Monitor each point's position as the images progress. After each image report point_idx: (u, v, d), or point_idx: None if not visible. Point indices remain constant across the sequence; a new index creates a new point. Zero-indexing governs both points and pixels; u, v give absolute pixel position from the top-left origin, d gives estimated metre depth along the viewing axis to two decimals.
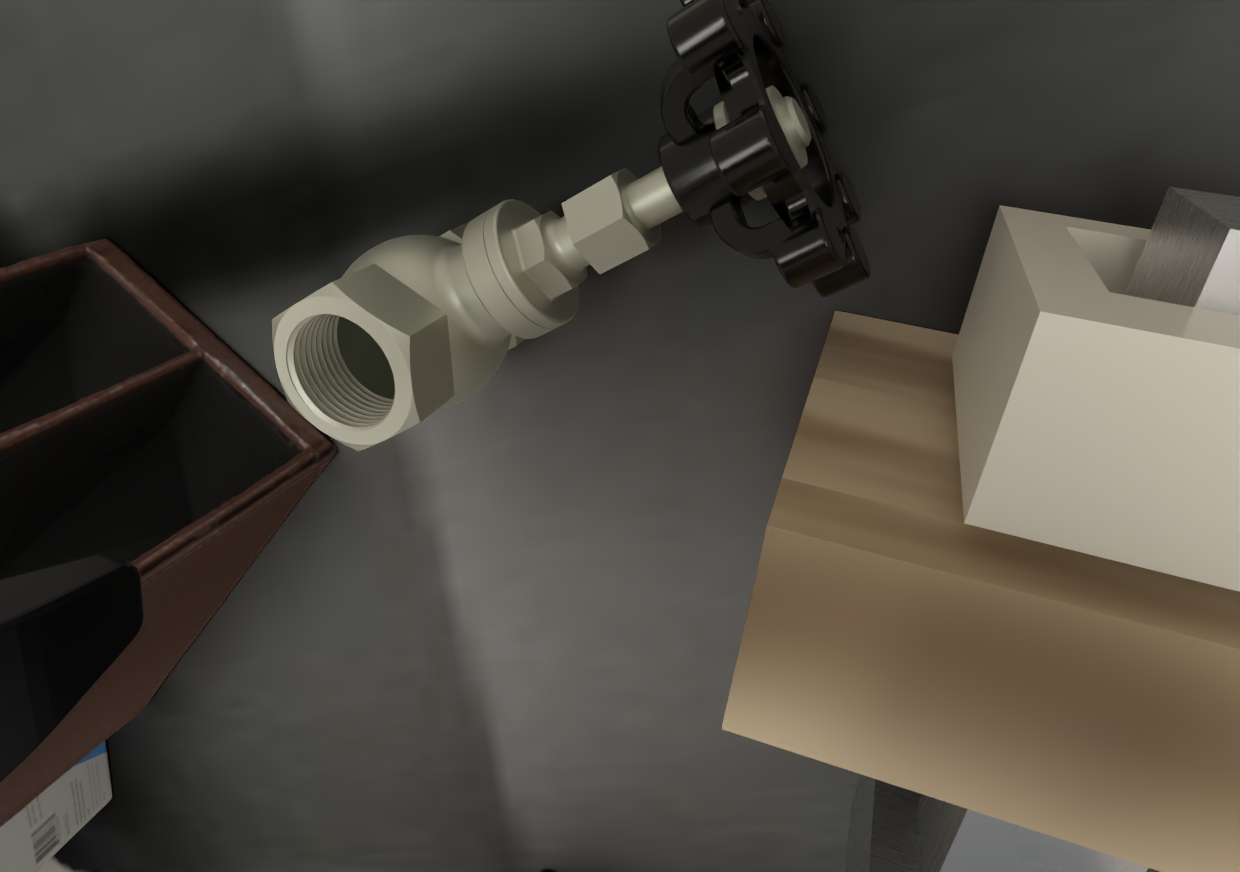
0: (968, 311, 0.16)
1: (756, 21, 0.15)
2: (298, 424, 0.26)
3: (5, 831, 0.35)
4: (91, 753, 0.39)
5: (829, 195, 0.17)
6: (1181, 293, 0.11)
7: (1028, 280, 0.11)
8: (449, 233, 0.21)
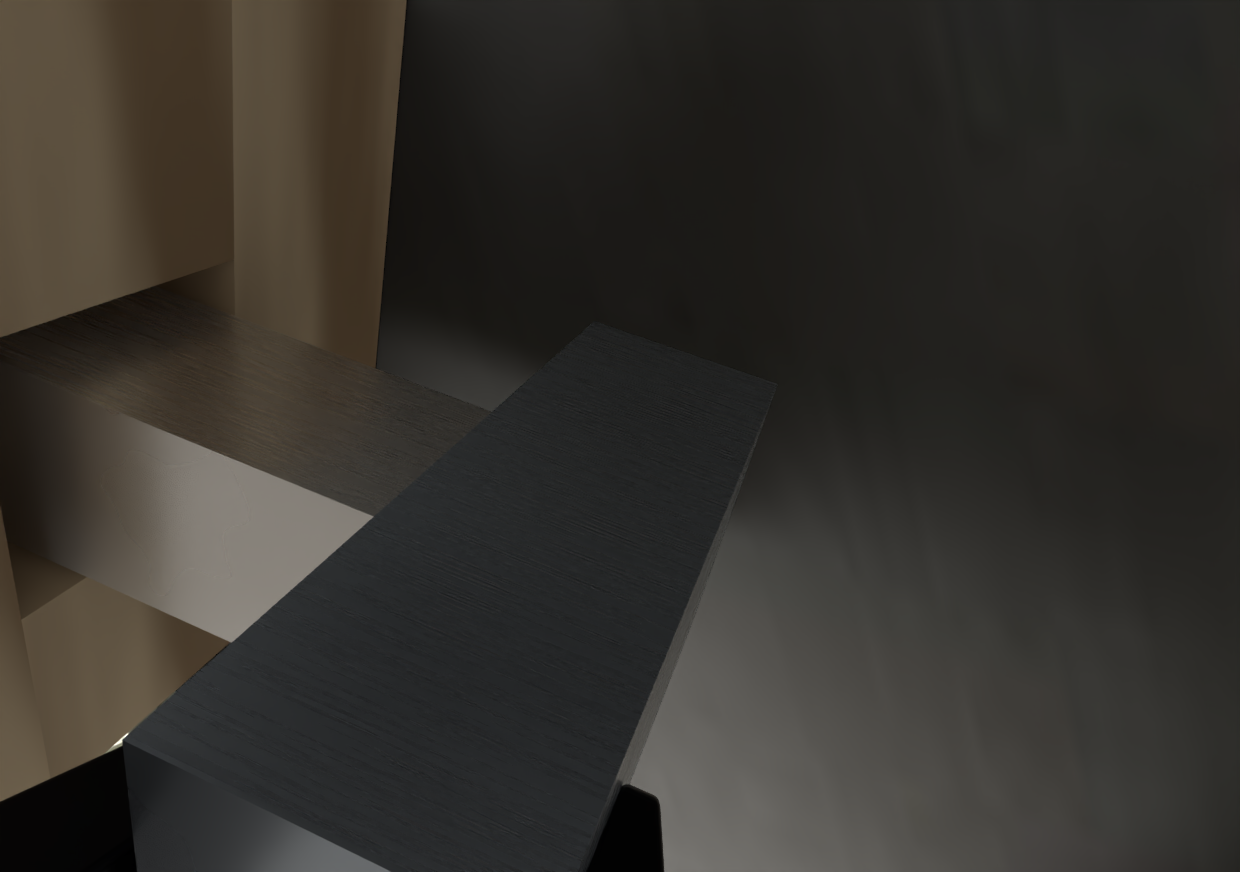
0: None
1: None
2: None
3: None
4: None
5: None
6: None
7: None
8: None
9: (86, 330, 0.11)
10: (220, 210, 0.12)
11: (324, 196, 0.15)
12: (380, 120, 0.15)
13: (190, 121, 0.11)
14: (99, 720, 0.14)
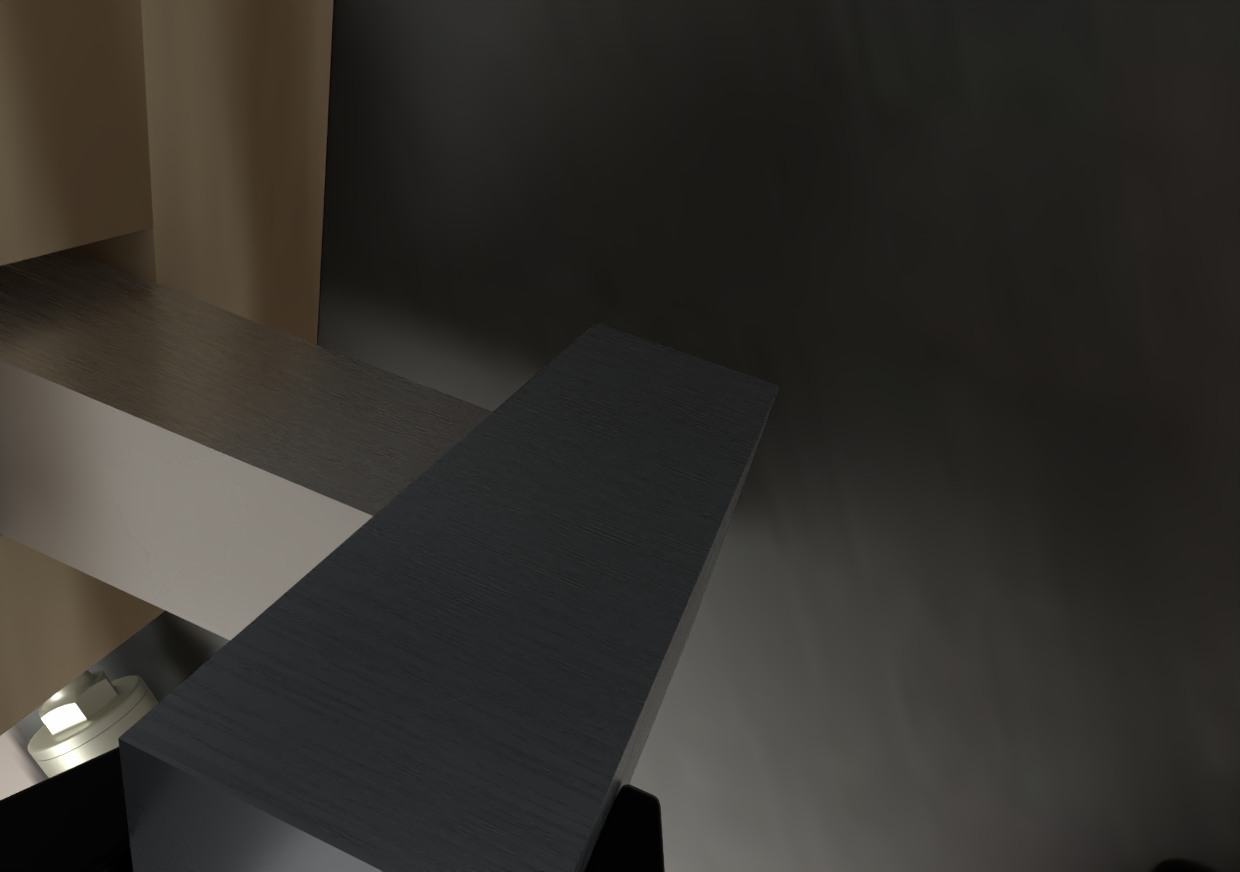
0: None
1: None
2: None
3: None
4: None
5: None
6: None
7: None
8: None
9: (88, 328, 0.11)
10: (135, 177, 0.13)
11: (252, 169, 0.15)
12: (310, 96, 0.16)
13: (98, 88, 0.12)
14: (23, 679, 0.14)
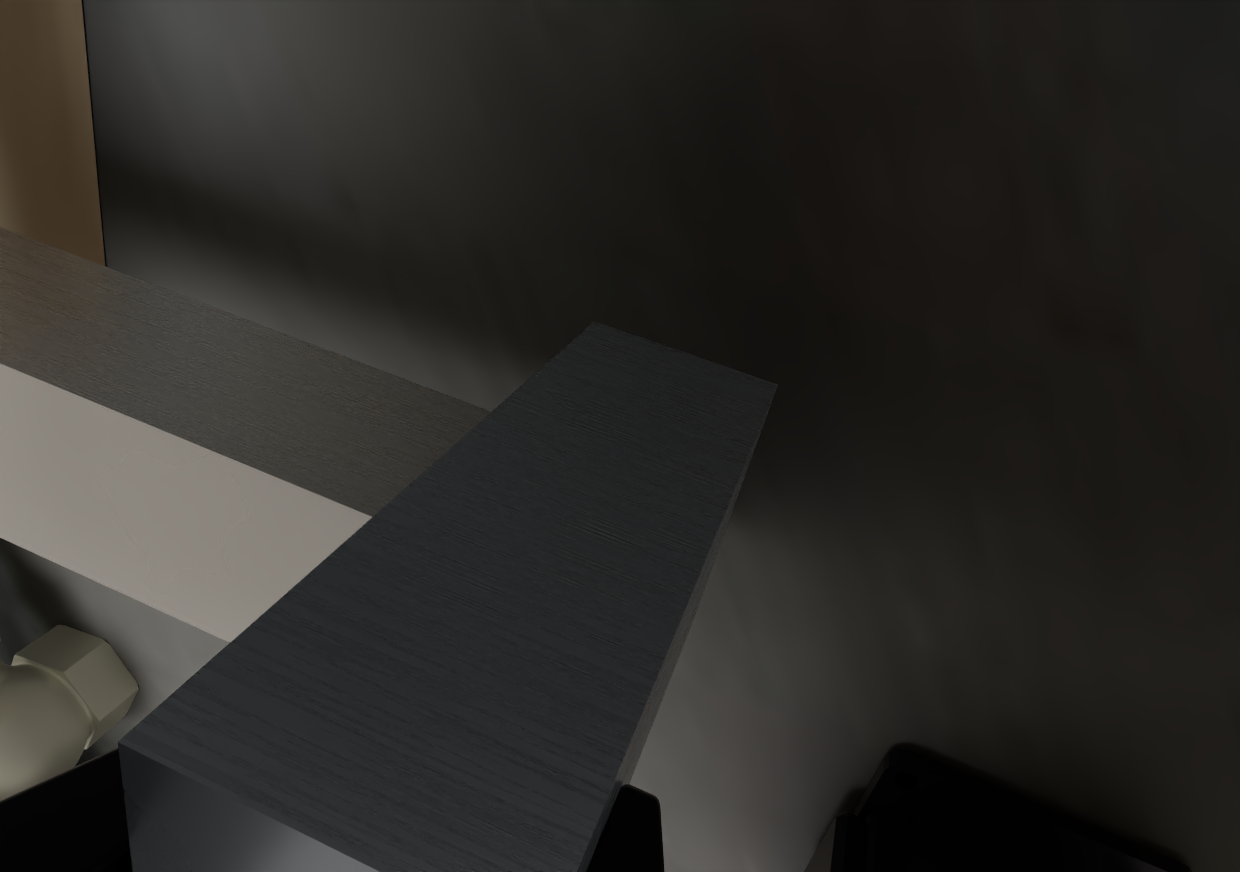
0: None
1: None
2: None
3: None
4: None
5: None
6: None
7: None
8: None
9: (84, 328, 0.11)
10: None
11: None
12: (58, 16, 0.17)
13: None
14: None
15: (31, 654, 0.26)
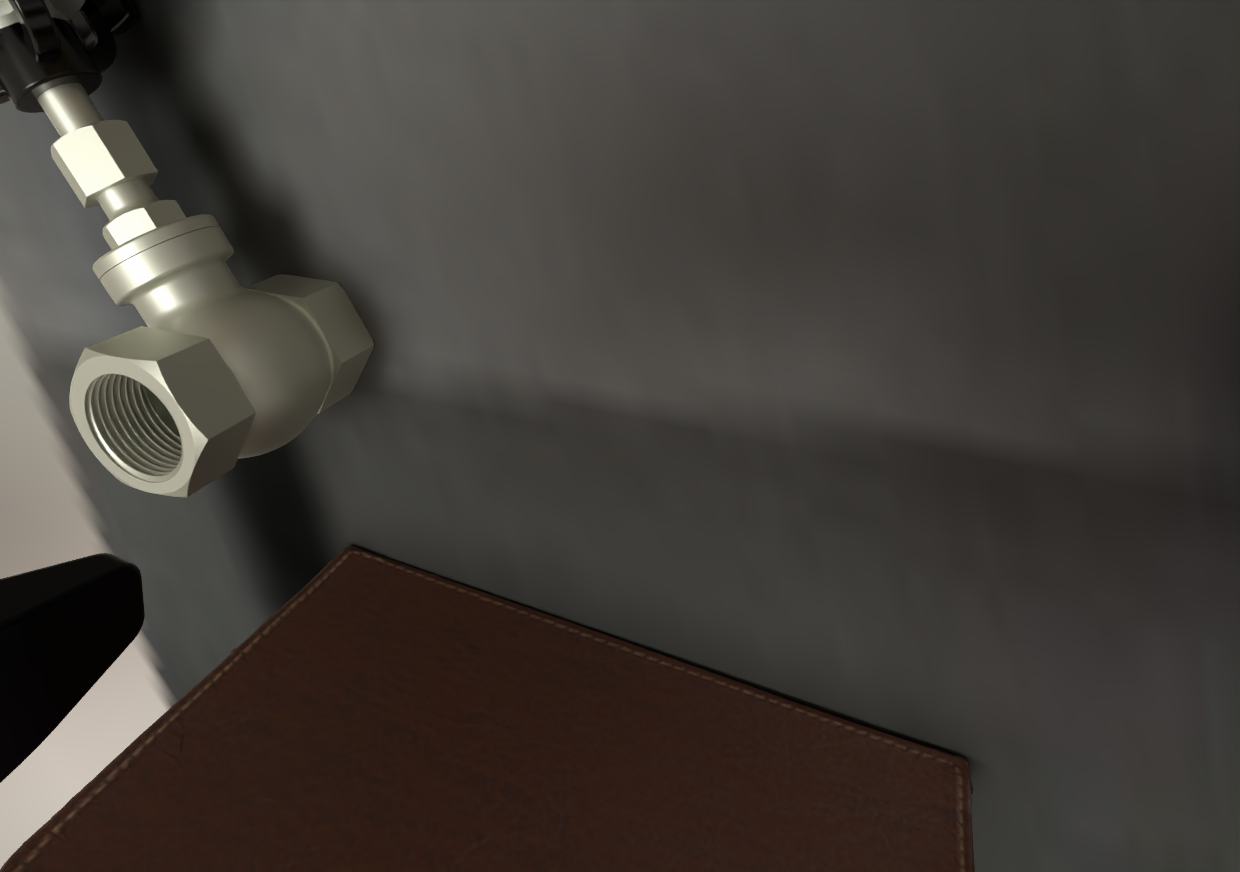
0: None
1: None
2: None
3: None
4: None
5: None
6: None
7: None
8: None
9: None
10: None
11: None
12: None
13: None
14: None
15: (260, 288, 0.22)
